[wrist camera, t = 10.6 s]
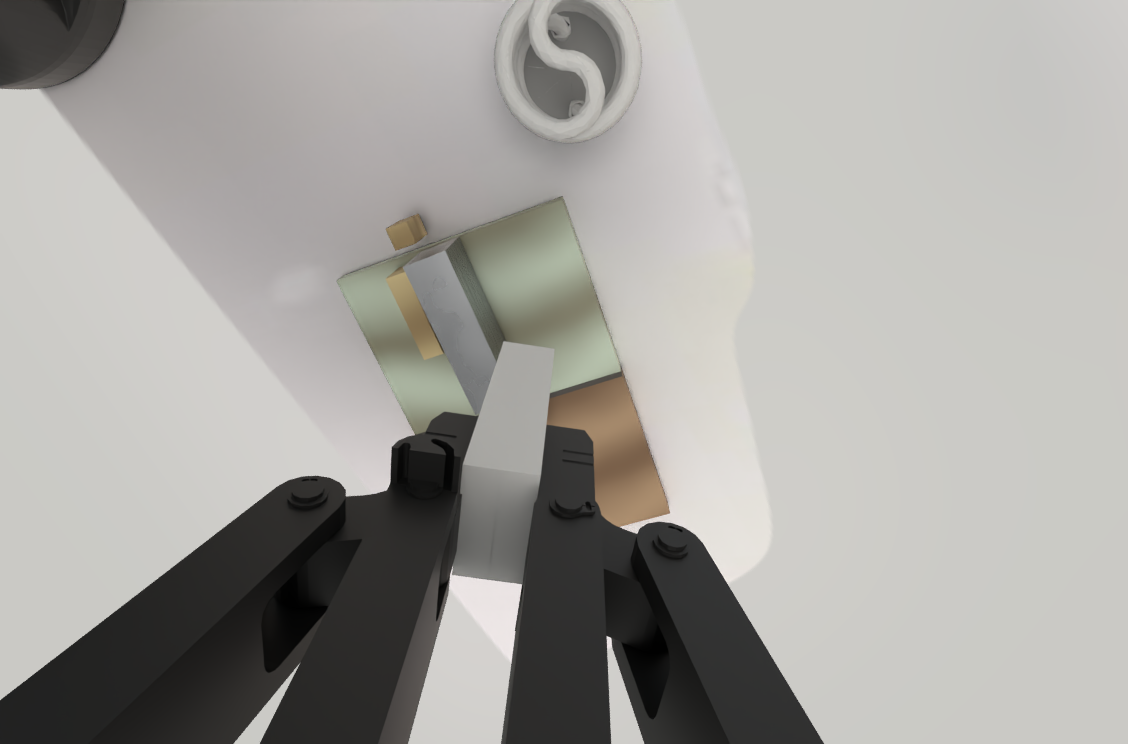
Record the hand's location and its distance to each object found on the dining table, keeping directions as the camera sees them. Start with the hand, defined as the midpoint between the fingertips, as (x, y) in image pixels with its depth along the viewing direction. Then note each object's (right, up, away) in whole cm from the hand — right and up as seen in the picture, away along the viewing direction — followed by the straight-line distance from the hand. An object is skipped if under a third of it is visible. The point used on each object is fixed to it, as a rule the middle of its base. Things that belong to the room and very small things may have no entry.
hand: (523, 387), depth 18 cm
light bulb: (+2, +16, +14) cm, 21 cm away
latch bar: (-3, +2, +18) cm, 19 cm away
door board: (-2, -1, +21) cm, 21 cm away
